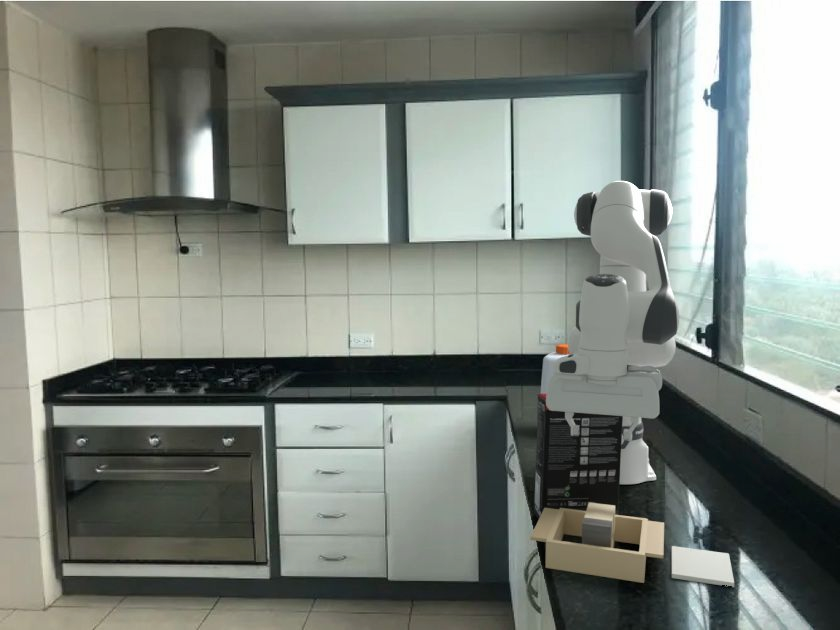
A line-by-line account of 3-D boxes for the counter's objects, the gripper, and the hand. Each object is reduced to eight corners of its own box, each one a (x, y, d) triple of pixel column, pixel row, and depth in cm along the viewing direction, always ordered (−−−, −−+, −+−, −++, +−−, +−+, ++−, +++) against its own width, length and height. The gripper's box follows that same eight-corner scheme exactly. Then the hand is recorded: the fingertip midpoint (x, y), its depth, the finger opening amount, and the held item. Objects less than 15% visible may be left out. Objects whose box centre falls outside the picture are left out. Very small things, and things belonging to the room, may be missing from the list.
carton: (544, 529, 142) (545, 505, 142) (663, 545, 134) (664, 520, 134) (529, 565, 126) (529, 538, 126) (662, 585, 118) (663, 557, 118)
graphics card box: (609, 511, 152) (612, 389, 149) (621, 524, 145) (625, 396, 142) (533, 515, 150) (534, 391, 147) (542, 528, 143) (544, 398, 140)
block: (588, 541, 136) (588, 502, 135) (614, 545, 135) (615, 505, 134) (581, 565, 126) (582, 523, 125) (609, 570, 124) (610, 527, 123)
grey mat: (671, 549, 132) (671, 545, 132) (728, 557, 129) (728, 553, 129) (671, 578, 121) (671, 573, 121) (734, 587, 118) (734, 582, 118)
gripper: (663, 364, 126) (660, 438, 127) (550, 358, 133) (549, 428, 134) (662, 369, 120) (660, 447, 121) (544, 363, 127) (543, 436, 128)
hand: (601, 437), depth 128 cm, fingers open, 8 cm apart
